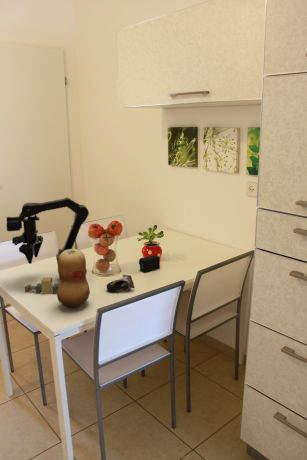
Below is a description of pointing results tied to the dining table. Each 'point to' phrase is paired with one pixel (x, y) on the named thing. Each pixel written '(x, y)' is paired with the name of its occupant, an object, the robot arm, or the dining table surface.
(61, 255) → the butternut squash
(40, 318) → the dining table surface
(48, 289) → the coupler
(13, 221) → the robot arm
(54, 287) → the shaft rig
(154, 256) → the digital camera
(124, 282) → the caster wheel
